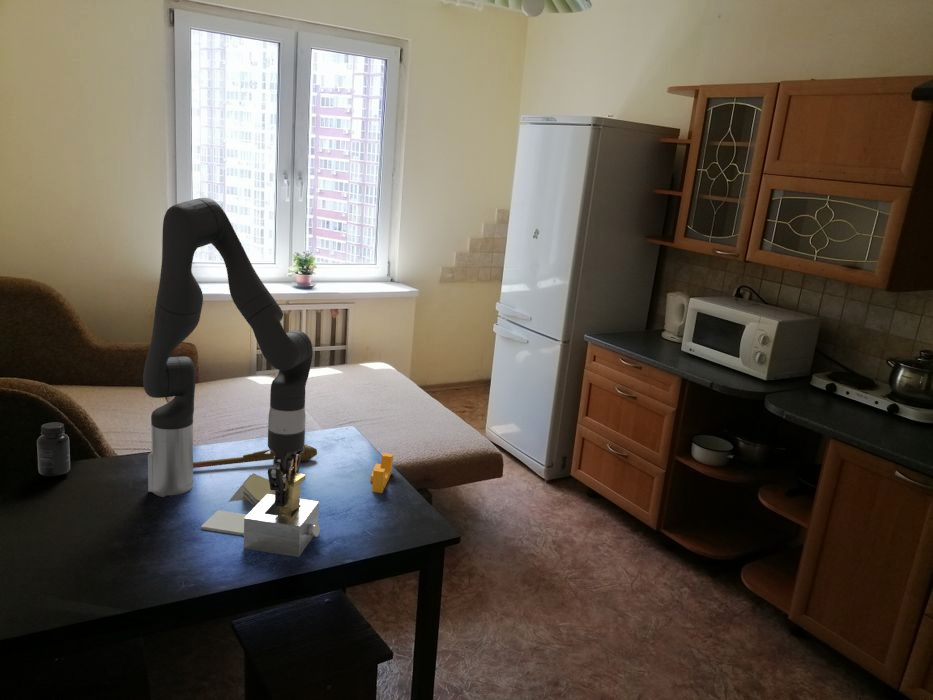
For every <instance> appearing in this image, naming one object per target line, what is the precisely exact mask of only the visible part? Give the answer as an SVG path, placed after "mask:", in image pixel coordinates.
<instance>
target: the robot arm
mask: <svg viewBox="0 0 933 700" xmlns="http://www.w3.org/2000/svg"><path fill="white" fill-rule="evenodd" d="M162 221H163V222H162V241H161V244H162V246H161V247H162V249H161V267H160V275H159V284H158V291H157V295H156V302H155V308H154V315H153V317H154V319H153V327H152V333H151V339H150V344H149V347H148V352H147V354H146V355H147V356H146V359H145V362H144V367H143V368H144V369H143V375H142V382H143V383H142V385H143V389H144V391H145V393H146V395H147V396H148V397H150V398H153V399H154V398H155V399H161V398H172V397H173V398H172V399H171V400H170V401H168V402H167V403H165V404H164V405H162V406H161V405H160V406H159V407H157V408H155V409H154V410H153V411H152V412H151V415H150V416H151V417H150V421H151V424H150V428H151V430H150V436H151V439H150V440H151V452H150V453H149V454H148V455H147V484H148V486H147V488H148V489H147V490H148V492H149V493H153V494H154V495H155V496H158V497H161V498H165V497H166V496H176V495H181V494H184V493H188V492H190V491H191V490H192V489H193V487H194V468H193V462H194V414H195V413H194V412H195V392H196V368H195V364H194V361H193V359H191V357H189V356H183V355H182V356H171V354H172V353H173V352H174V350H175V349H177V347H179V345H181V344H182V343H183V342H184V341H185V340H186V339H188V337H189V336H190V335H191V334H192V333H193V332H194V331H195V329H196V328H197V326H198V325H199V323H200V319H201V314H202V310H203V304H204V295H203V291H202V288H201V286H200V285H199V282H198V281H197V279H196V278H195V276H194V274H193V272H192V271H193V270H192V268H193V259H194V255H195V253H196V251H197V250H198V249H199V248H202V247H204V246H208V245H210V244H211V245H212V246H213V247H214V248H215V250H217V252H218V253H219V254H220V256H221V259H222V260H223V262H224V265H225V270H226V275H227V282H228V289H229V293H230V297H231V300H232V302H233V303H234V305H235V306H236V308H237V309H238V311H239V313H240V314H241V315H242V316H243V318H244V319H245V321H246V323H248V325H249V326H250V328H251V329H252V331H253V334H254V337H255V340H256V341H257V344H258V346H259V349H260V352H261V353H262V355H263V357H264V359H265V360H266V361H267V362H268V364H270V366H271V367H273V368H275V369H276V370H278V374H277V375H276V377H275V378H274V379H273V380H272V382H271V385H270V395H269V399H270V400H269V401H270V402H269V412H268V417H267V419H268V422H267V425H268V426H267V447H268V450H269V449H270V450H272V451H273V452H274V453H275V457H274V459H272V460H273V461H272V464H273V467H272V468H271V467H269V468H268V469H267V476H268V478H267V479H268V480H269V484H270V489H271V490H273V491H275V505H276V506H281V507H284V506H285V505H286V491H287V490H286V489H287V486H286V481H287V480H289V479H290V476H291V472H292V473H295V472H297V473H300V472H299V471H300V466H301V465H300V464H301V461H300V460H301V454H302V449H303V447H304V445H306V444H305V442H306V441H305V440H306V439H305V437H306V436H305V435H306V420H307V419H306V418H307V417H306V416H307V415H306V385H307V382H308V378H309V375H310V371H311V370H310V369H311V366H312V361H313V357H314V356H313V354H314V351H313V344H312V341H311V338H310V337H309V336H308V335H307V334H306V333H305V332H303V331H301V330H290V331H287V332H286V331H285V329H284V327H283V325H282V323H281V321H282V320H283V317H284V312H283V310H282V308H281V306H280V305H279V304H278V302H277V300H276V299H275V298H274V296H273V295H272V294H271V293H270V291H269V290H268V289H267V287H266V286H265V284H264V283H263V281H262V280H261V278H260V276H259V274H257V272H256V270H255V269H254V267H253V264H252V263H251V260H250V258H249V257H248V255H247V252H246V251H245V248H244V246H243V245H242V242H241V241H240V238H239V237H238V235H237V233H236V231H235V229H234V226H233V225H232V223H231V221H230V219H229V217H228V216H227V213H226V212H225V210H224V209H223V208H222V207H221V205H220V204H219V203H218V202H217V201H215V200H214V199H213V198H210V197H200V198H199V197H198V198H194V199H191V200H187V201H183V202H180V203H179V202H178V203H176V204H172V206H170V207H169V208H168V209H167V210H166V211H165V214H164V216H163V220H162ZM282 474H286V475H282ZM283 481H284V482H283Z"/></svg>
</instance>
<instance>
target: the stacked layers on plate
mask: <svg viewBox="0 0 933 700" xmlns="http://www.w3.org/2000/svg"><path fill="white" fill-rule="evenodd" d="M267 494H272V495H275V491H273V490H271V489H270V484H269V478H266V477H263V476H261V475H258V474H256V473H252V474H249V476H248V477H247V478H246V479H245V480H244V481H243V483H242V484H241V485H240V487H239V488H238V489H237V490H236V491H235V492H234V494H233V495H232V496H231V498H230V499H229V500H228V501H227V502H228V503H230V502H238V501H246V500H248V502H250V504H251V505H253V506H254V507H255V506H256V505H257V504H258V503H259V502H260V501H261V500H262V499H263V498H264V497H265V496H266V495H267Z"/></svg>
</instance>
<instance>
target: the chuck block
mask: <svg viewBox="0 0 933 700" xmlns="http://www.w3.org/2000/svg"><path fill="white" fill-rule="evenodd" d="M319 512H320V501H318V500H311V499H306V498H300V504H299V509H298V510H297V511H296V513H295V514H294V515H293V516H292V518H289V517H283V516H278V506H276V505H275V495H272V494H267V495H266V496H265V497H264V498H263V499H262V500H261V501H260V502H259V503H258V504H257V505H256V506H254V507H253V508H252V509H251V510H250V511H249V512H248V513H247V514H246V515H247V516H246V517H245V518H244V536H243V550H249V551H250V550H251V551H258V552H263V553H271V554H277V555H283V556H290V557H295V558H296V557H297V558H299V557H300V556H301V555H302V553H303V552H304V550H305V549H306V548H307V546H308V545H309V544H310V542H311V541H312V539H313V538H314V537H317V538H318V537H319V535H320V532H321V526H320V525H319Z"/></svg>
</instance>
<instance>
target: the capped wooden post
mask: <svg viewBox="0 0 933 700" xmlns="http://www.w3.org/2000/svg"><path fill="white" fill-rule="evenodd" d="M282 475H286V474H282ZM305 480H306V474H305V473H304V474H303V473H300V472H299V473H297V472H295V473H292V472H291V476H290V479H289V480H287V481H286V486H287V489H286V490H287V491H286V505H285V506H284V507H281V506H278V516H283V517H289V518H292V516H293V515H294V514H295V513H296V511H297V510H298V509H299V504H300V499H301V489H302V488H301V487H302V483H303V482H305ZM283 482H284V481H283Z"/></svg>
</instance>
